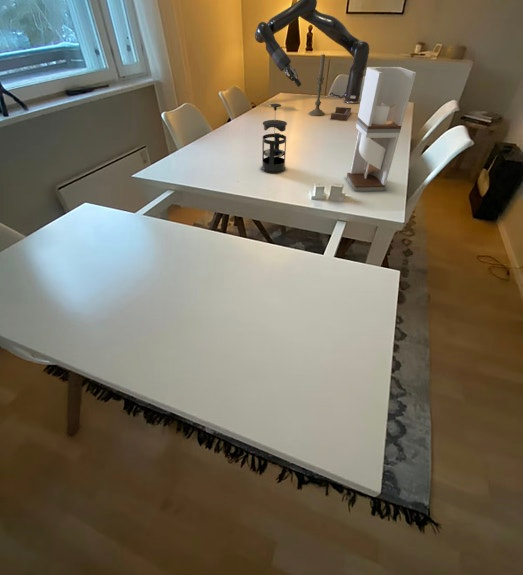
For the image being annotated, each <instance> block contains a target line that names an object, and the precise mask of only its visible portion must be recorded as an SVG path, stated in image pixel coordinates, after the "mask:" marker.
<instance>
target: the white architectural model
mask: <svg viewBox="0 0 523 575" xmlns="http://www.w3.org/2000/svg"><path fill="white" fill-rule="evenodd" d="M416 76H417V72H415V71H413V70H410V69H407V68H405V67H403V66H366V69H365V76H364V81H363V86H362V92H361V97H360V103H359V108H358V114H357V119H356V124H355V128H356V129H357V130H358V131H357V138H356V142H355V146H354V152H353V156H352V163H351V168H350V172H346V180H347V181H348V183H349V184H350V186H351V188H352V189H353V191H354V192H375V191H376V192H377V191H379V192H381V191H382V192H383V191H385V189H386V185H387V181H388V177H389V174H390V170H391V167H392V163H393V159H394V155H395V152H396V148H397V144H398V142H399V138H400V134H401V131H402V130H401V129H402V126H403V123H404V119H405V115H406V113H407V108H408V104H409V101H410V98H411V93H412V90H413V86H414V83H415V79H416Z"/></svg>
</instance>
